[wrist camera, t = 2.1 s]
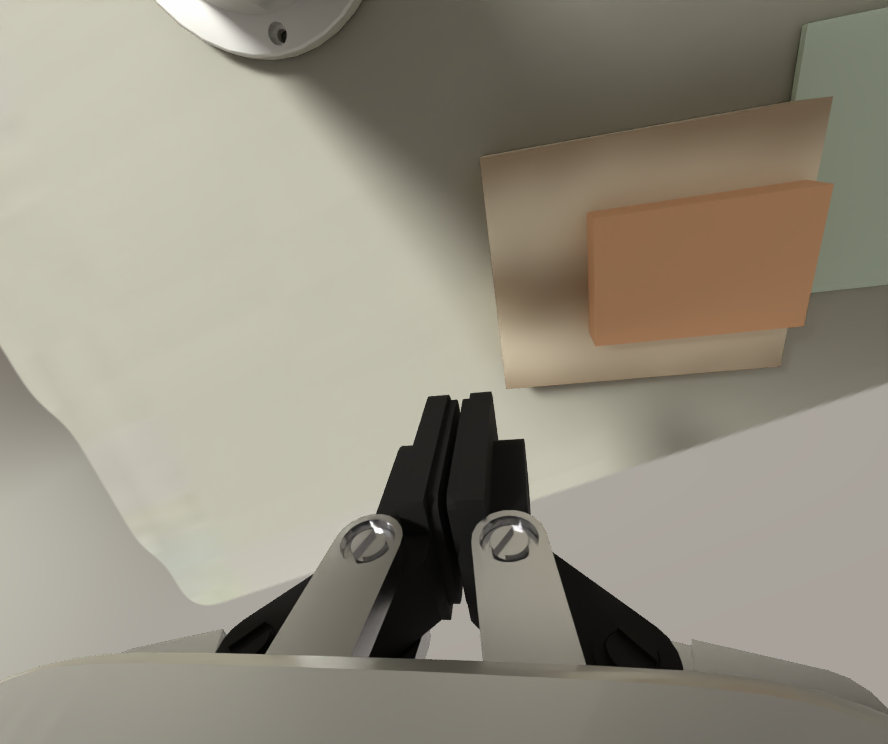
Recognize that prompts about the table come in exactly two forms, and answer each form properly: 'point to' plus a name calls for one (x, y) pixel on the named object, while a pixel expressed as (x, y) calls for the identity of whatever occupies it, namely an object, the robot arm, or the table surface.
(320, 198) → the table surface
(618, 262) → the tile
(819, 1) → the table surface
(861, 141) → the mat
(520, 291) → the plate
